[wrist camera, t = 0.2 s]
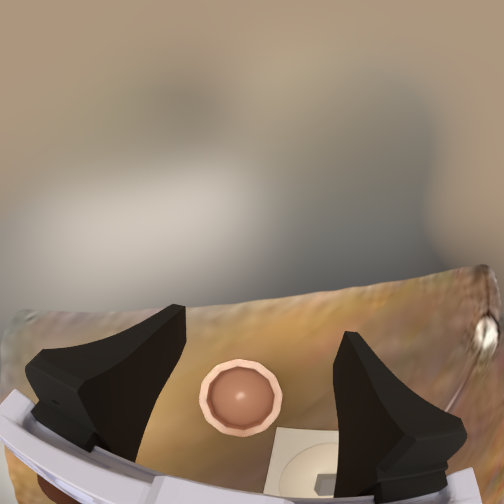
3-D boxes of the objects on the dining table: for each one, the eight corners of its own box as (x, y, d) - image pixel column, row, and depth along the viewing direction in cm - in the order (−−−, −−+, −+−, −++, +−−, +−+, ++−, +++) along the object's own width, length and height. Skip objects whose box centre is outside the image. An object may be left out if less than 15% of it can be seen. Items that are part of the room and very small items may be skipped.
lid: (355, 511, 27) (362, 519, 24) (271, 513, 28) (273, 522, 25) (372, 441, 34) (382, 445, 30) (288, 440, 34) (291, 445, 31)
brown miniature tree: (103, 435, 33) (50, 447, 20) (132, 491, 29) (91, 522, 16) (61, 445, 31) (7, 452, 18) (88, 497, 27) (41, 520, 13)
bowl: (271, 435, 35) (274, 441, 31) (199, 422, 36) (193, 427, 32) (283, 367, 40) (287, 366, 36) (212, 356, 41) (207, 353, 37)
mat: (362, 517, 27) (363, 518, 26) (256, 519, 28) (256, 520, 27) (384, 429, 35) (385, 429, 34) (276, 426, 36) (277, 427, 35)
